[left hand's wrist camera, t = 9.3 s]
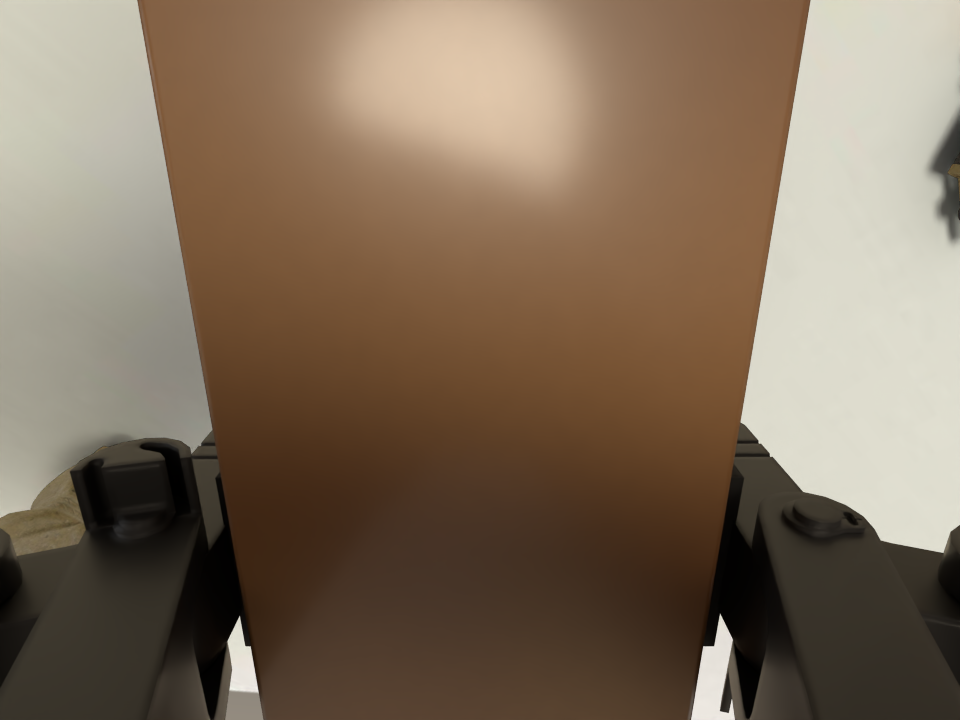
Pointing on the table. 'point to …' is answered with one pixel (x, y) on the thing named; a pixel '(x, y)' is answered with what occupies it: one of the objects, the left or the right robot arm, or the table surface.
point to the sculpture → (47, 519)
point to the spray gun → (956, 174)
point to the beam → (475, 333)
